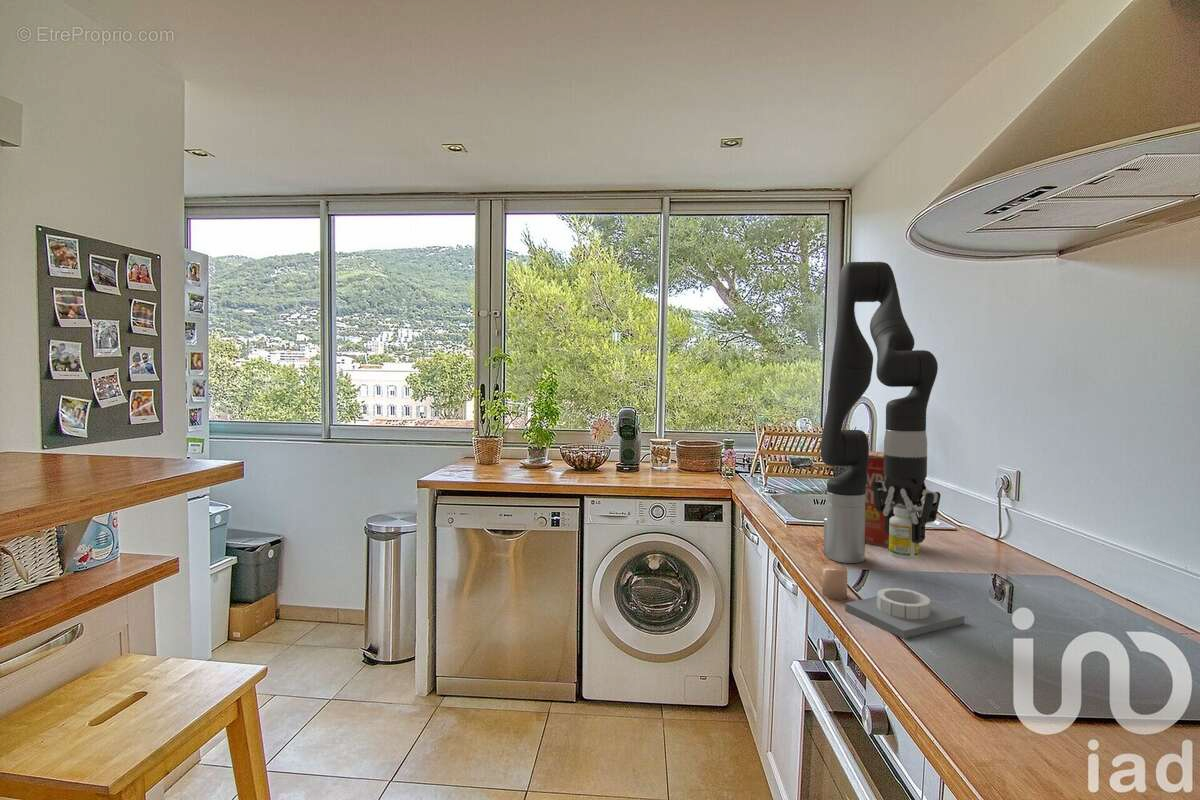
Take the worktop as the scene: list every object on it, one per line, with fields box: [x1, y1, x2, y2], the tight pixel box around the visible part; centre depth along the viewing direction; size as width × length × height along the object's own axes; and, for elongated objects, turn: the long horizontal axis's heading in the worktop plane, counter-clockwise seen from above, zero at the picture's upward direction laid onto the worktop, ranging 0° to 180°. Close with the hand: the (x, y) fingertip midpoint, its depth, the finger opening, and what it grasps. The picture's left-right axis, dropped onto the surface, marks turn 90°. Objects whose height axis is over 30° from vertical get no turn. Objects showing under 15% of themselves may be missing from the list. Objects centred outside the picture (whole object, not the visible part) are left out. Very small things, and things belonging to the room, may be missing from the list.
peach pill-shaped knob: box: [821, 563, 848, 601], centre depth 129 cm, size 5×5×6 cm
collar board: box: [844, 587, 965, 639], centre depth 118 cm, size 14×16×4 cm
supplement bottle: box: [888, 505, 920, 560], centre depth 117 cm, size 5×5×10 cm
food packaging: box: [846, 450, 903, 549], centre depth 168 cm, size 13×9×25 cm
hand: (904, 538), depth 117 cm, fingers closed on supplement bottle, 5 cm apart
